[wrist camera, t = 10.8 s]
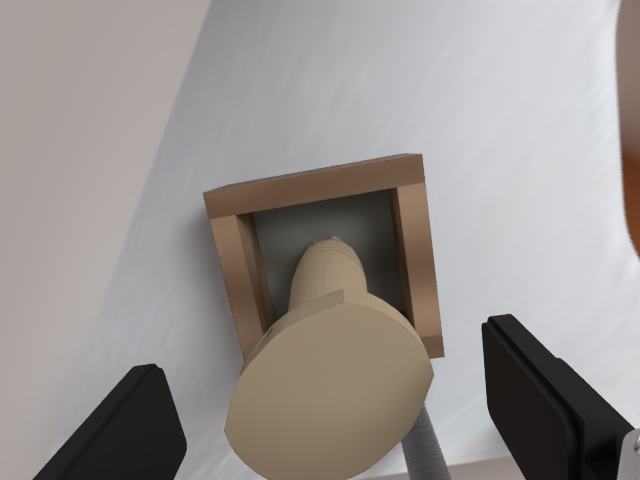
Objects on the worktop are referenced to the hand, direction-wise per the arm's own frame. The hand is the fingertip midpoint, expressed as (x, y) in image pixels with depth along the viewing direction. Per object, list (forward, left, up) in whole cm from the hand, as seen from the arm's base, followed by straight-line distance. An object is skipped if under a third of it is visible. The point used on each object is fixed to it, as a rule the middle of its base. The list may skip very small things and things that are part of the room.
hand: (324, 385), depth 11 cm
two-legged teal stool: (+11, +9, -16) cm, 21 cm away
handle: (0, 0, -15) cm, 15 cm away
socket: (+1, 0, -16) cm, 16 cm away
